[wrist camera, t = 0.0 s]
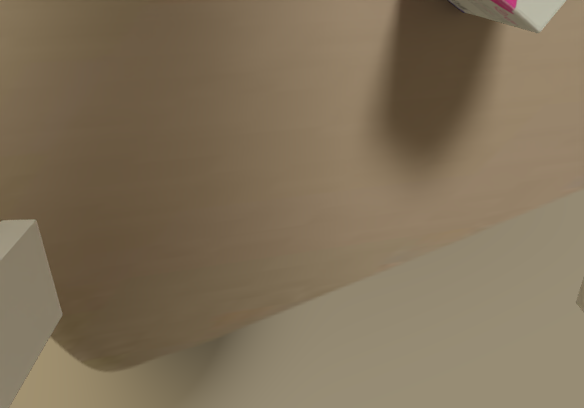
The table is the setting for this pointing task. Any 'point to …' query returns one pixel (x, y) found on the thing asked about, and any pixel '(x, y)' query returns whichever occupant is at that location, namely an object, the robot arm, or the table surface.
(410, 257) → the table surface
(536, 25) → the supplement box
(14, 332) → the robot arm
